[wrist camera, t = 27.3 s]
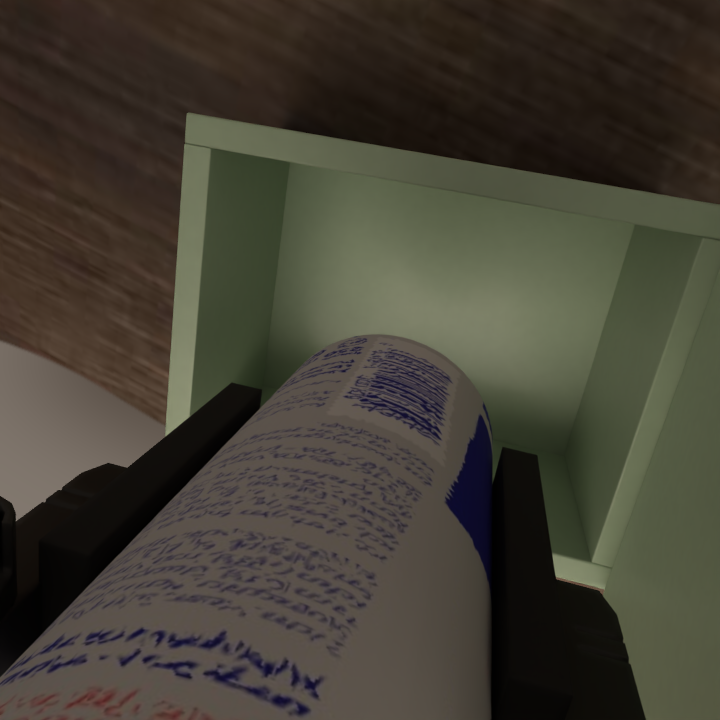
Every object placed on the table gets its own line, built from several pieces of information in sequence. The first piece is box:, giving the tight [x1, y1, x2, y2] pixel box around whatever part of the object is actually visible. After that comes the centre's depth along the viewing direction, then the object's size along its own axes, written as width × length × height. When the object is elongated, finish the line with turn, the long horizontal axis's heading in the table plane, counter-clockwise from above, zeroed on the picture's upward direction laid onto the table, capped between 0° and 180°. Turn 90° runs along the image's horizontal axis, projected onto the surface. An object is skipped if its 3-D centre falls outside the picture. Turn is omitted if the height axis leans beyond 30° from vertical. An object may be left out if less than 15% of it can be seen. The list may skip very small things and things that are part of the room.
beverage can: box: [0, 335, 493, 720], centre depth 9 cm, size 6×6×15 cm
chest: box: [165, 113, 720, 589], centre depth 27 cm, size 18×14×10 cm
